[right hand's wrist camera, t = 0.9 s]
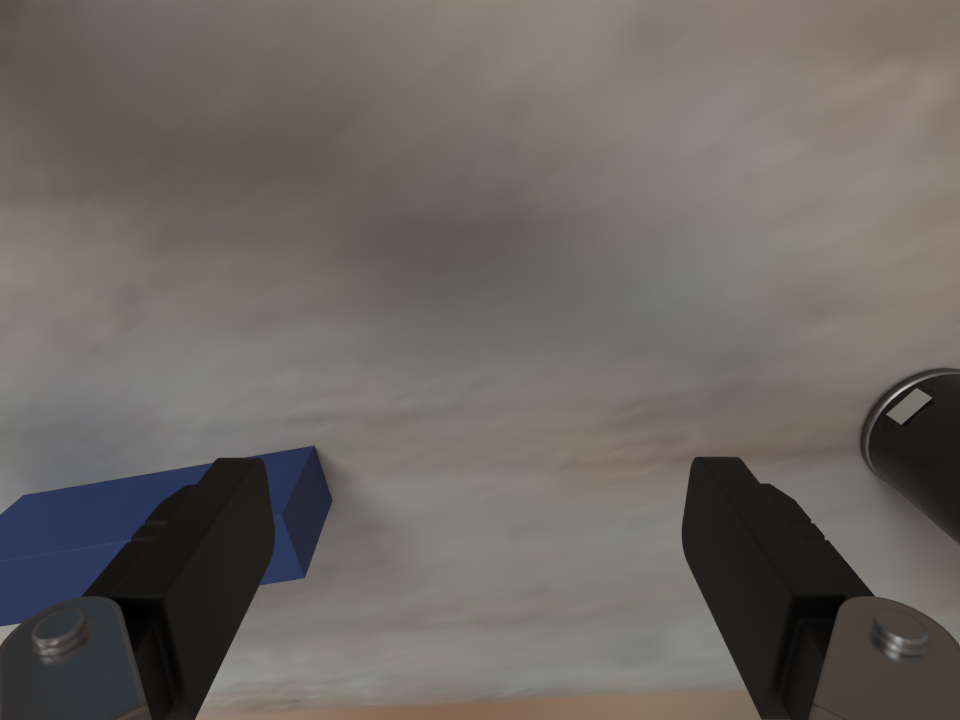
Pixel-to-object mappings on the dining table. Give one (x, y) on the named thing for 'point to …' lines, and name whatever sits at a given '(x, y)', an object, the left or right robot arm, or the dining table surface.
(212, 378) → the dining table surface
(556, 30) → the dining table surface
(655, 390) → the dining table surface
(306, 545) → the bar
